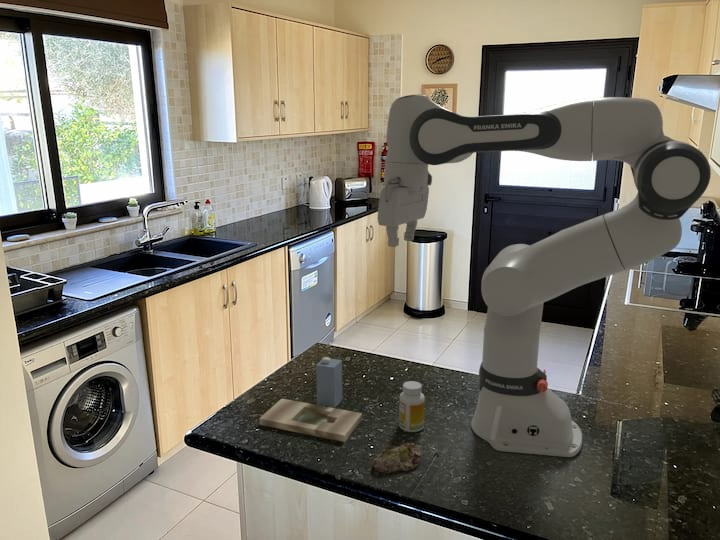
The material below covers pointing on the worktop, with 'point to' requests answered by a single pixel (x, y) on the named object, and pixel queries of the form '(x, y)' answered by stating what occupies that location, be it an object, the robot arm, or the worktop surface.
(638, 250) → the robot arm
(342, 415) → the board
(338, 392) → the block
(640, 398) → the worktop surface
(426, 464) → the worktop surface
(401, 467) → the mineral rock
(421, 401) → the supplement bottle
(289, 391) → the worktop surface
